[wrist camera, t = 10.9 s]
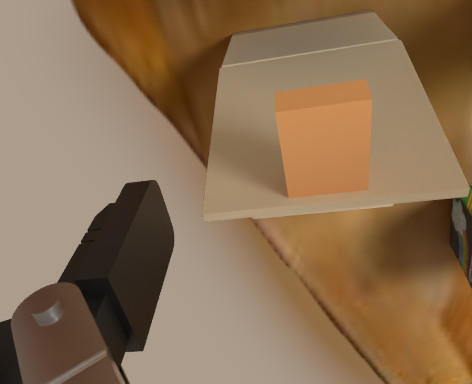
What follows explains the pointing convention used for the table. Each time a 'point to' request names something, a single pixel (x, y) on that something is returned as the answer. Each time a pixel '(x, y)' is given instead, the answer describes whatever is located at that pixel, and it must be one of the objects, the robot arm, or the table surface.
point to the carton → (308, 47)
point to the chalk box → (462, 233)
